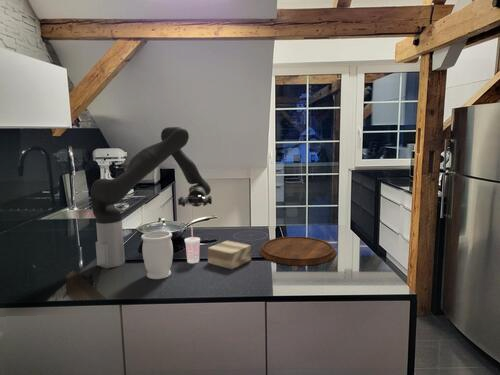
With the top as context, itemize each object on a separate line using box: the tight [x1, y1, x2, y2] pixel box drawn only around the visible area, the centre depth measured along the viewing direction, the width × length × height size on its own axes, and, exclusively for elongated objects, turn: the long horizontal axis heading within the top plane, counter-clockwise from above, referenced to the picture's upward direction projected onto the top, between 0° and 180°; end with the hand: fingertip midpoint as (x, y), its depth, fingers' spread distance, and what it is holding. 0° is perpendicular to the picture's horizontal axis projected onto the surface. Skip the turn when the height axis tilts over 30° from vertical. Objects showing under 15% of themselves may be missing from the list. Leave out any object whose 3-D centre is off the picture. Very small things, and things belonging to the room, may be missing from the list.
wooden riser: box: [207, 239, 252, 270], centre depth 145 cm, size 12×12×6 cm
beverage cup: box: [184, 226, 201, 264], centre depth 146 cm, size 6×6×14 cm
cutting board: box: [258, 236, 337, 266], centre depth 156 cm, size 32×32×3 cm
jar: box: [141, 230, 174, 280], centre depth 132 cm, size 11×10×15 cm
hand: (193, 203), depth 155 cm, fingers open, 8 cm apart
